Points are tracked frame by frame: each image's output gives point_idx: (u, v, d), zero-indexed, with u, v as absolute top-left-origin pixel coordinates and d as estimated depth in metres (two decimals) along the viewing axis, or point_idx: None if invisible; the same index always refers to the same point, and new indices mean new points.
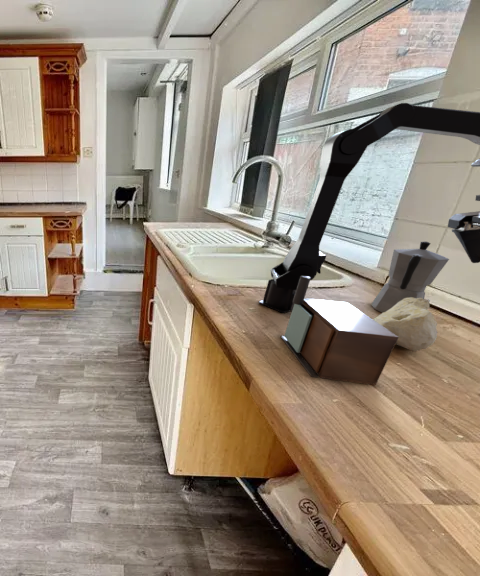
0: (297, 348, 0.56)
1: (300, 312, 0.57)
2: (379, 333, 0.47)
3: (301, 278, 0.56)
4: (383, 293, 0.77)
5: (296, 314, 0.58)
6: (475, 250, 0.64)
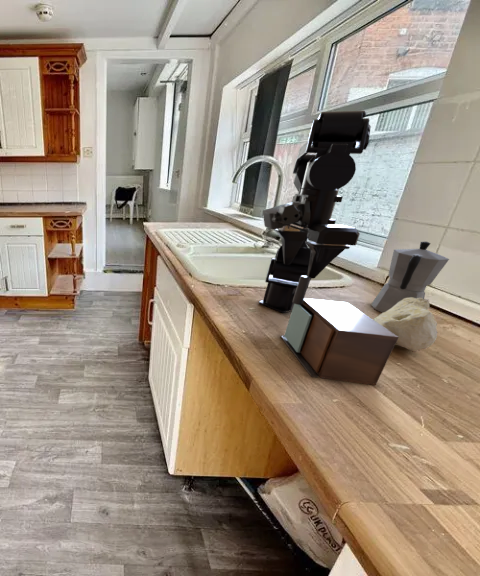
0: (297, 347, 0.56)
1: (300, 312, 0.57)
2: (379, 333, 0.47)
3: (301, 278, 0.56)
4: (383, 293, 0.77)
5: (296, 314, 0.58)
6: None
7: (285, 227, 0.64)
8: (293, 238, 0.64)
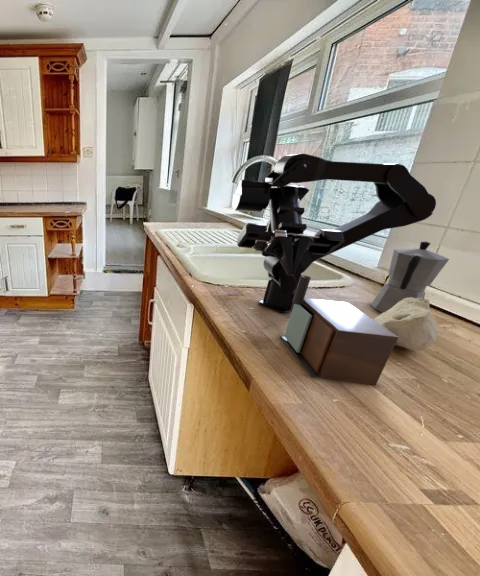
0: (297, 348, 0.56)
1: (300, 312, 0.57)
2: (379, 333, 0.47)
3: (301, 278, 0.56)
4: (383, 293, 0.77)
5: (296, 314, 0.58)
6: None
7: None
8: (292, 250, 0.63)
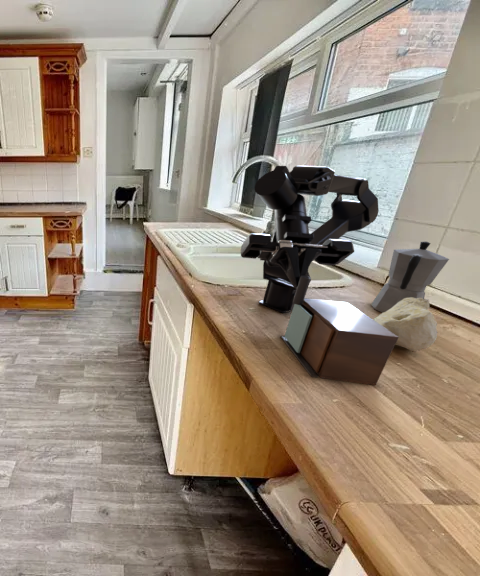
0: (297, 348, 0.56)
1: (300, 313, 0.56)
2: (379, 333, 0.47)
3: (301, 278, 0.56)
4: (383, 293, 0.77)
5: (297, 314, 0.58)
6: None
7: None
8: (298, 261, 0.60)
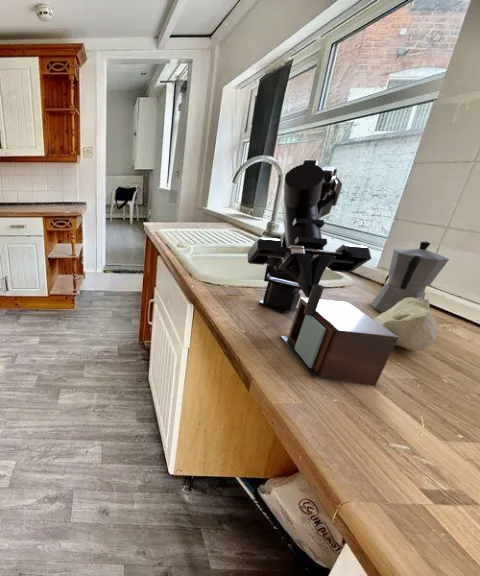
0: (309, 363, 0.52)
1: (312, 324, 0.52)
2: (379, 333, 0.47)
3: (313, 287, 0.52)
4: (383, 293, 0.77)
5: (308, 326, 0.53)
6: None
7: None
8: (310, 268, 0.56)
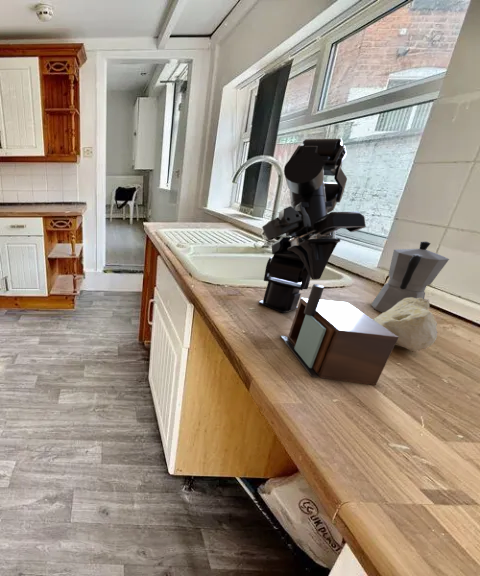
0: (309, 363, 0.52)
1: (312, 324, 0.52)
2: (379, 333, 0.47)
3: (313, 287, 0.52)
4: (383, 293, 0.77)
5: (308, 326, 0.53)
6: None
7: (299, 242, 0.61)
8: None
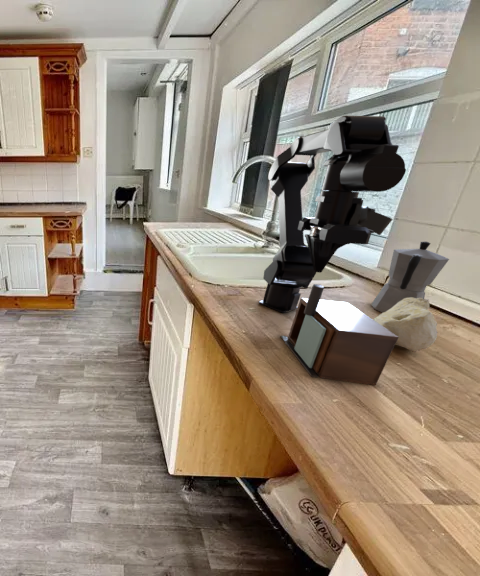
0: (309, 363, 0.52)
1: (312, 324, 0.52)
2: (379, 333, 0.47)
3: (313, 287, 0.52)
4: (383, 293, 0.77)
5: (308, 326, 0.53)
6: None
7: None
8: None
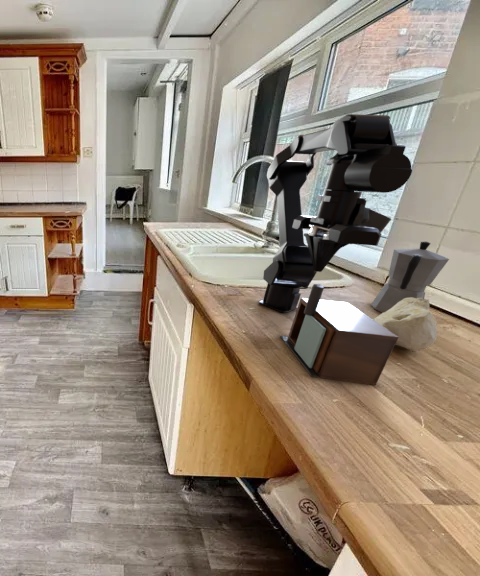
0: (309, 363, 0.52)
1: (312, 324, 0.52)
2: (379, 333, 0.47)
3: (313, 287, 0.52)
4: (383, 293, 0.77)
5: (308, 326, 0.53)
6: None
7: None
8: None
